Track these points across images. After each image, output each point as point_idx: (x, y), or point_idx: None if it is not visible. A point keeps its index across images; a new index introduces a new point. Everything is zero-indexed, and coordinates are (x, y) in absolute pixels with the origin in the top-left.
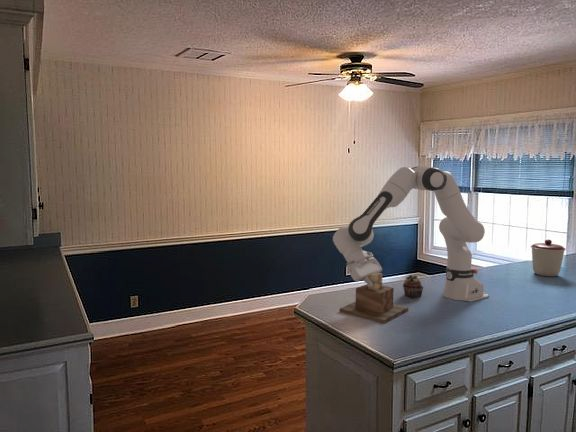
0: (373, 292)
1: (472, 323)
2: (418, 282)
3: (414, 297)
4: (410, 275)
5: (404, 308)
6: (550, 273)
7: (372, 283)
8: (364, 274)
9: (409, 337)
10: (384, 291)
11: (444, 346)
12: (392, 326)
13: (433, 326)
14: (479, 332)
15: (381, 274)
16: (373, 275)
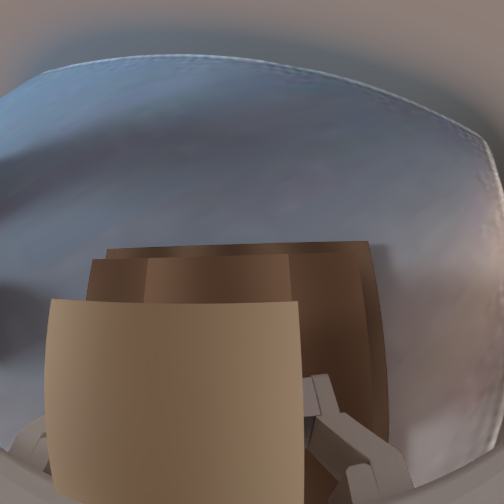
0: (364, 326)
1: (150, 89)
2: None
3: None
4: None
5: (135, 253)
6: None
7: (324, 387)
8: (487, 484)
9: (387, 139)
10: (264, 258)
11: (355, 82)
12: (361, 208)
13: (243, 122)
14: (208, 65)
15: (90, 305)
16: (299, 419)
